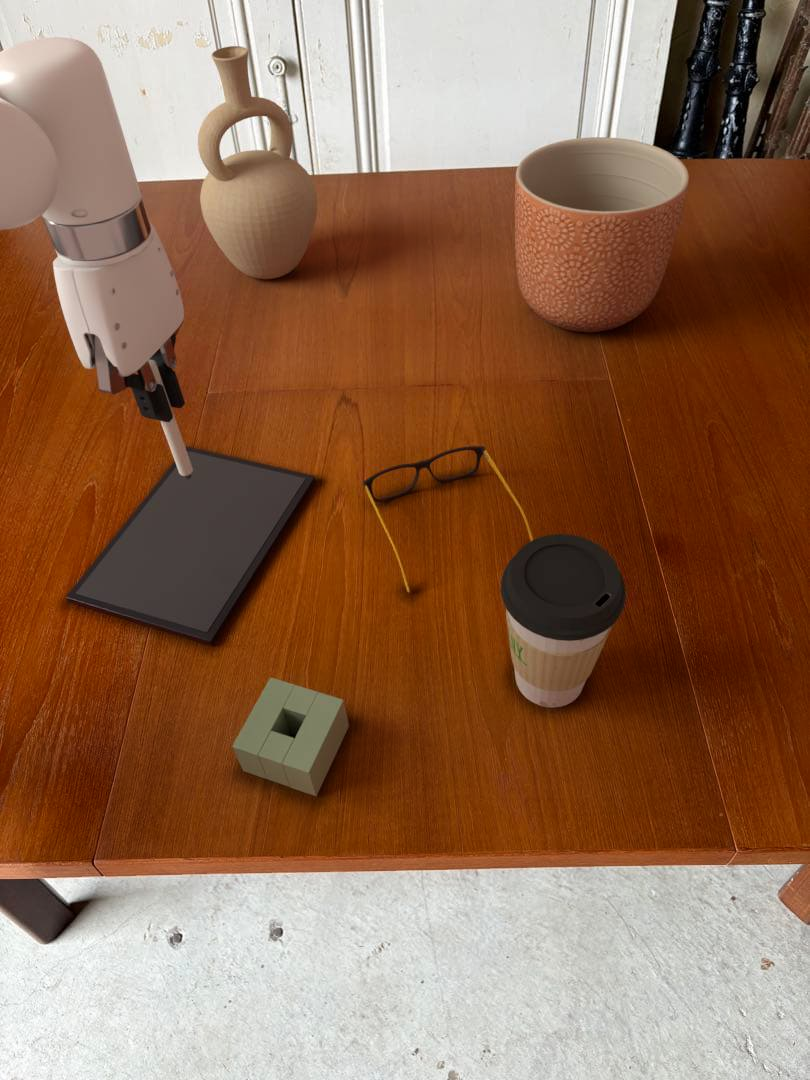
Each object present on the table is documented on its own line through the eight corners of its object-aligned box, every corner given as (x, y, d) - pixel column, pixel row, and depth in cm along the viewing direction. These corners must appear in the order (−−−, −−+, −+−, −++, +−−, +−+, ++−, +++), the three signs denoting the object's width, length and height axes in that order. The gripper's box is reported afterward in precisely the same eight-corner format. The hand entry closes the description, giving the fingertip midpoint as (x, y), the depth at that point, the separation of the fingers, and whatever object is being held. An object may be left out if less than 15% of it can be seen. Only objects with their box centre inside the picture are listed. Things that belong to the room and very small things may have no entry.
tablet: (68, 602, 83) (64, 596, 83) (188, 451, 98) (186, 445, 97) (212, 646, 79) (210, 640, 78) (316, 481, 93) (314, 475, 93)
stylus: (178, 480, 83) (136, 367, 73) (185, 471, 84) (145, 358, 73) (190, 483, 83) (150, 369, 72) (197, 473, 83) (158, 360, 73)
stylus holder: (242, 771, 70) (231, 746, 67) (279, 703, 74) (270, 676, 71) (316, 796, 68) (308, 772, 65) (349, 725, 72) (343, 699, 69)
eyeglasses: (480, 465, 94) (480, 439, 91) (536, 553, 84) (539, 527, 81) (363, 500, 91) (359, 474, 88) (408, 595, 82) (406, 569, 79)
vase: (254, 310, 118) (205, 87, 95) (198, 267, 127) (142, 53, 104) (347, 268, 124) (321, 49, 102) (287, 230, 133) (252, 21, 111)
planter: (690, 329, 109) (725, 189, 95) (550, 368, 105) (564, 228, 91) (612, 257, 122) (632, 124, 108) (485, 288, 118) (488, 155, 104)
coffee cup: (541, 616, 79) (554, 509, 68) (626, 676, 74) (655, 572, 63) (473, 679, 75) (475, 576, 64) (558, 747, 70) (576, 649, 59)
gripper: (115, 176, 69) (173, 357, 83) (-6, 269, 59) (82, 456, 73) (192, 186, 67) (238, 369, 81) (79, 284, 57) (153, 473, 71)
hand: (163, 410), depth 77 cm, fingers closed on stylus, 1 cm apart
